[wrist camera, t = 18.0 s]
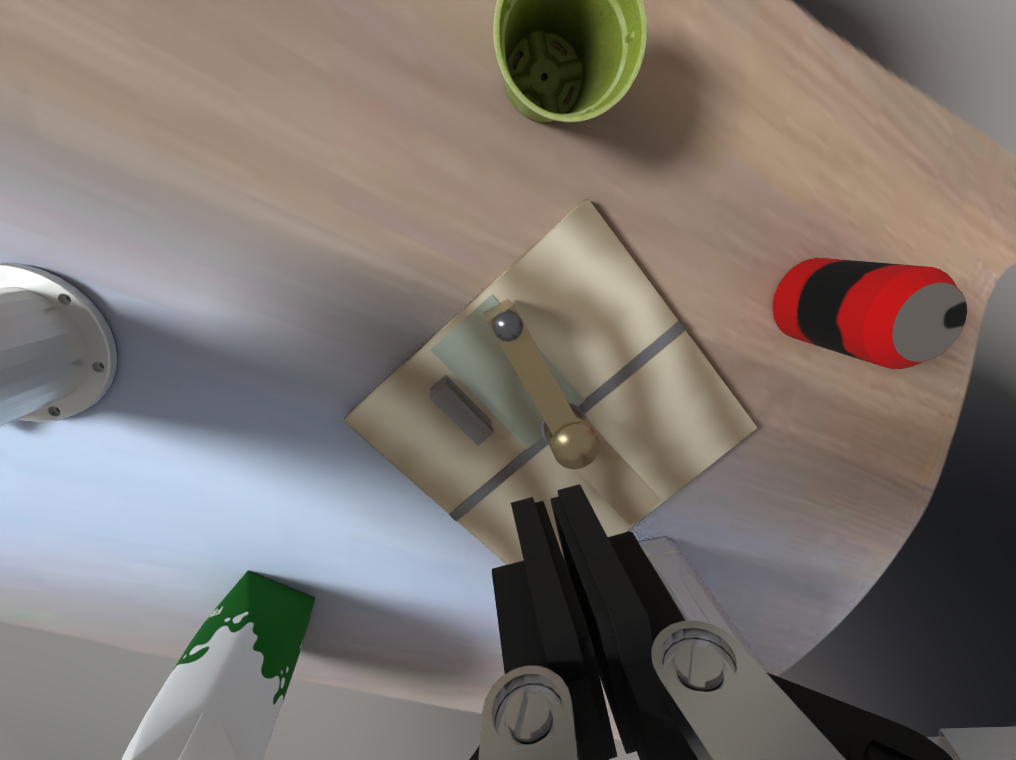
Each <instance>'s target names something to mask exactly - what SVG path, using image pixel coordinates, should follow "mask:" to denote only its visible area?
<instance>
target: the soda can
mask: <svg viewBox="0 0 1016 760" xmlns="http://www.w3.org/2000/svg"><path fill="white" fill-rule="evenodd" d="M773 315H774V319H775V322H776V324H777V326H778V327H779V329H780V330H781V331H782V332H783V333H785V334H786V335H788V336H790V337H792V338H795V339H798V340H801V341H804V342H808V343H811V344H814V345H817V346H820V347H823V348H826V349H830V350H833V351H836V352H839V353H842V354H845V355H848V356H852V357H855V358H858V359H861V360H864V361H867V362H870V363H873V364H877V365H880V366H883V367H887V368H891V369H903V368H908V367H912V366H914V365H917V364H919V363H921V362H924V361H927V360H930V359H933V358H935V357H937V356H939V355H940V354H942V353H943V352H945V351H946V350H947V349H948V348H949V347H950V346H951V345H952V344H953V343H954V342H955V340H956V339H957V338H958V336H959V335H960V333H961V331H962V329H963V326H964V323H965V320H966V315H967V304H966V300H965V297H964V295H963V293H962V292H961V291H960V290H959V289H958V288H957V286H956V284H955V283H954V281H953V279H952V278H951V277H950V276H949V275H948V274H947V273H945V272H943V271H942V270H940V269H937V268H933V267H925V266H913V265H900V264H888V263H876V262H864V261H851V260H839V259H827V258H814V259H809V260H806V261H804V262H801V263H800V264H798V265H796V266H795V267H793V268H792V269H791V270H790V271H789V272H788V273H787V274H786V275H785V276H784V278H783V279H782V280H781V282H780V284H779V285H778V287H777V290H776V292H775V295H774V300H773Z"/></svg>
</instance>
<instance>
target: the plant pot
mask: <svg viewBox="0 0 1016 760" xmlns="http://www.w3.org/2000/svg"><path fill="white" fill-rule="evenodd" d="M493 37H494V48H495V53H496V58H497V61H498V65H499V67H500V70H501V73H502V75H503V77H504V79H505V86H506V90H507V93H508V96H509V98H510V101H511V102H512V104H513V105H514V107H515V108H516V109H517V110H518V111H519V112H520V113H521V114H522V115H523V116H525V117H527V118H528V119H531V120H533V121H537V122H552V121H559V122H580V121H585V120H589V119H592V118H595V117H597V116H599V115H601V114H603V113H605V112H606V111H608V110H609V109H611V108H612V107H613V106H615V105H616V104H617V103H618V102H619V101H620V100H621V99H622V98H623V97H624V95H625V94H626V93H627V92H628V90H629V89H630V87H631V86H632V84H633V82H634V80H635V79H636V77H637V75H638V72H639V70H640V67H641V65H642V61H643V58H644V54H645V49H646V43H647V19H646V12H645V7H644V3H643V0H497V3H496V8H495V14H494V25H493ZM553 42H556V43H558V44H560V45H561V46H562V47H563V48H564V49H565V50H566V52H567V55H565V56H564V55H563V54H562V53H561V52H560V51H559V50H558V49H556V48H554V47H552V45H551V43H553ZM521 51H522V52H523V55H522V57H521V58H520V60H519V62H518V64H517V66H516V69H515V70H514V69H513V66H512V65H513V62H514V60H515V58H516V55H517V54H518V53H519V52H521ZM544 73H546V74H547V76H548V78H547V80H546V81H543V80H542V79H541V76H542V74H544ZM571 87H573V89H574V92H573V94H572V95H571V99H570V101H569V102H568V103H567V104H564V103H563V101H564V100H565V98H566V97H567V95H568V93H569V91H570V88H571Z"/></svg>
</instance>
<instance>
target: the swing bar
mask: <svg viewBox="0 0 1016 760" xmlns="http://www.w3.org/2000/svg"><path fill="white" fill-rule="evenodd" d="M483 314H484V316H485V318H486V321H487V323H488V324H489V326H490V328H491V330H492V331H493V333H494V335H495V336H496V338H497V340H498V342H499V343H500V345H501V347H502V349H503V350H504V352H505V354H506V355H507V357H508V359H509V361H510V362H511V364H512V366H513V367H514V369H515V371H516V373H517V374H518V376H519V378H520V379H521V381H522V383H523V385H524V386H525V388H526V390H527V392H528V393H529V395H530V397H531V398H532V400H533V402H534V404H535V405H536V407H537V409H538V410H539V412H540V414H541V416H542V417H543V419H544V421H545V424H544V435H545V437H546V440H547V442H548V444H549V446H550V448H551V450H552V452H553V455H554V457H555V459H556V460H557V462H558V463H559V464H560V465H561V466H563V467H565V468H568V469H581V468H584V467H586V466H588V465H589V464H591V463H592V462H593V461H594V460H595V459H596V457H597V455H598V453H599V450H600V441H599V438H598V436H597V434H596V433H595V431H594V430H593V429H592V427H591V426H590V425H589V423H588V422H587V420H586V419H585V418H584V416H583V415H582V414H581V413H580V412H579V411H578V410H576V409H573V408H571V407H570V405H569V404H568V402H567V400H566V398H565V396H564V395H563V393H562V391H561V389H560V387H559V385H558V384H557V382H556V380H555V378H554V376H553V375H552V373H551V371H550V369H549V367H548V366H547V364H546V362H545V360H544V358H543V357H542V355H541V353H540V351H539V349H538V347H537V346H536V344H535V342H534V340H533V338H532V337H531V335H530V333H529V331H528V329H527V328H526V326H525V324H524V322H523V320H522V319H521V317H520V315H519V313H518V311H517V309H516V308H515V306H514V304H513V303H512V302H511V301H510V300H509V299H506V300H504V301H503V302H501V303H499V304H497V305H496V306H494V307H492V308H490V309H489V310H487V311H485V312H484V313H483Z"/></svg>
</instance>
